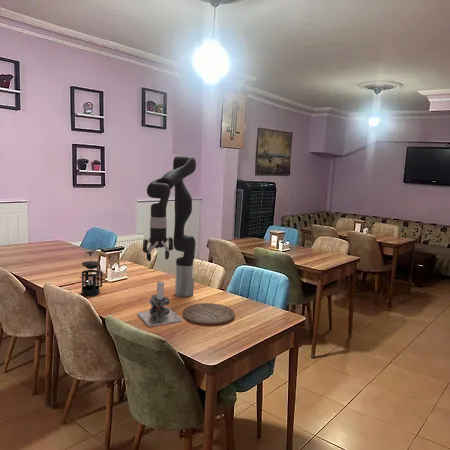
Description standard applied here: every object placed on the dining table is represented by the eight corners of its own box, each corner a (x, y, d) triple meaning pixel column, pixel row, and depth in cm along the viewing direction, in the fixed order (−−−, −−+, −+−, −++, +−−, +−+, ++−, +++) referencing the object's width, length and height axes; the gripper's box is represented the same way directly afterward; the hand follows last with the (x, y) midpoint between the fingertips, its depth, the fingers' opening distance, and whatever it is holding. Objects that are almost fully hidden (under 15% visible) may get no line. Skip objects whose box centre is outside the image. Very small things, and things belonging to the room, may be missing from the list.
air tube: (161, 314, 193) (162, 281, 190) (164, 316, 190) (165, 283, 188) (154, 315, 191) (155, 282, 189) (157, 317, 188) (158, 284, 186)
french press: (84, 298, 212) (84, 254, 208) (77, 293, 219) (76, 251, 215) (105, 293, 220) (105, 252, 216) (97, 289, 227) (97, 248, 223)
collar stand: (168, 309, 202) (169, 292, 200) (182, 321, 188) (182, 302, 186) (137, 314, 194) (137, 296, 192) (148, 327, 180) (149, 307, 178)
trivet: (206, 303, 214) (206, 299, 214) (244, 316, 199) (245, 312, 199) (171, 315, 195) (171, 311, 195) (210, 331, 180) (211, 327, 179)
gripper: (169, 223, 196) (168, 256, 199) (140, 225, 189) (140, 259, 191) (175, 226, 190) (175, 260, 192) (146, 228, 182) (146, 263, 185)
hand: (158, 260), depth 192 cm, fingers open, 8 cm apart
